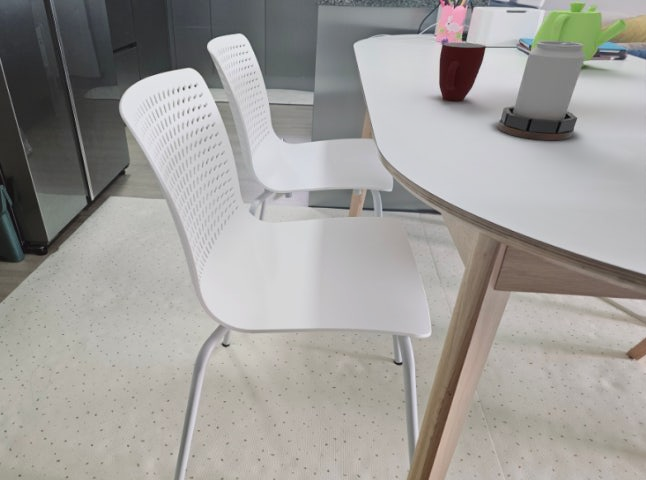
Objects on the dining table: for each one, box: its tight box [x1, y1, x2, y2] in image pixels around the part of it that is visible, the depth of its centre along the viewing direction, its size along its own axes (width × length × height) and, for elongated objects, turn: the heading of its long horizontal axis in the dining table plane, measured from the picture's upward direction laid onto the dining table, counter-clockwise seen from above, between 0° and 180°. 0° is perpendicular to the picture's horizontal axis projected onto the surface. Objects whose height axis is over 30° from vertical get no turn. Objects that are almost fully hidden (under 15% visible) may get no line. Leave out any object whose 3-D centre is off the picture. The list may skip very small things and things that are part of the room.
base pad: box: [497, 105, 578, 141], centre depth 75 cm, size 11×11×3 cm
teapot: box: [530, 1, 628, 68], centre depth 130 cm, size 25×22×16 cm
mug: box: [438, 42, 487, 102], centre depth 92 cm, size 10×8×10 cm
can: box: [513, 41, 585, 120], centre depth 72 cm, size 8×8×12 cm
